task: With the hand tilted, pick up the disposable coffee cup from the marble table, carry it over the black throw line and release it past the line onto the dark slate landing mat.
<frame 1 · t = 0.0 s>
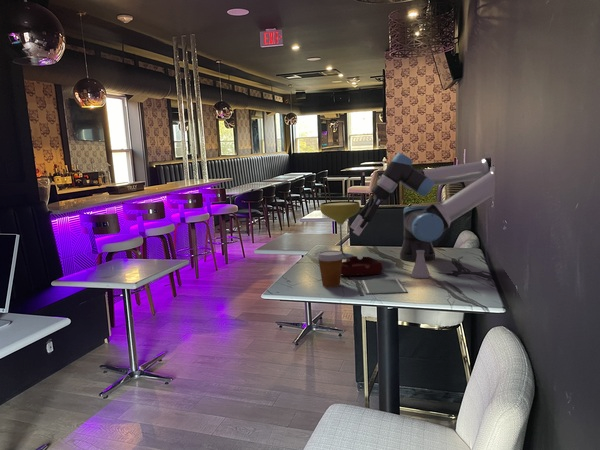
hand: (354, 231, 189), 15 cm above the table, tool tilted 35°, fingers open, 13 cm apart
cocktail glass: (341, 256, 214), on the table
ashtray: (362, 273, 183), on the table
flask: (420, 277, 174), on the table
throw line: (358, 287, 162), on the table
landing mat: (383, 286, 162), on the table
disposable coffee cup: (331, 285, 168), on the table
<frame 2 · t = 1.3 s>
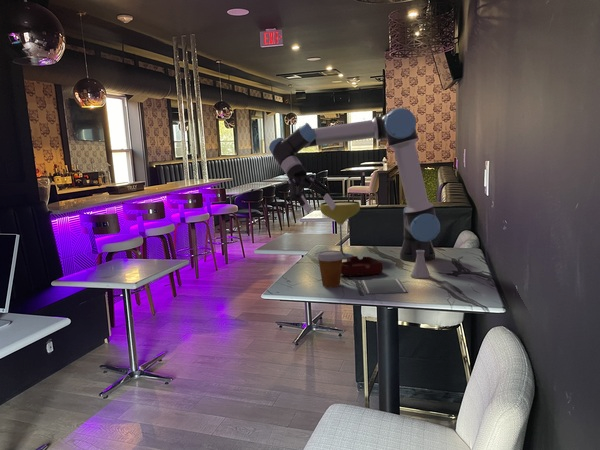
hand: (322, 209, 176), 26 cm above the table, tool tilted 45°, fingers open, 13 cm apart
nothing on the table moved.
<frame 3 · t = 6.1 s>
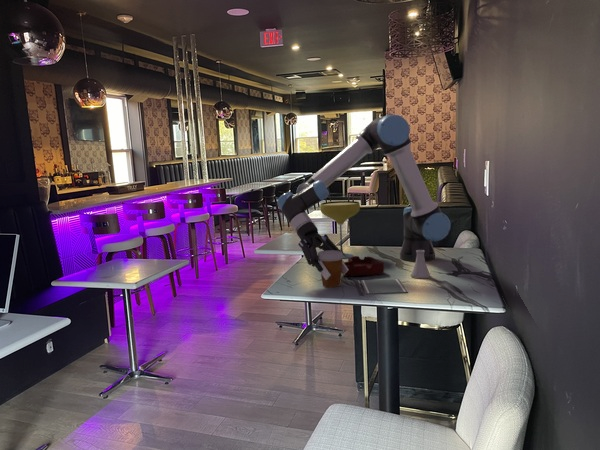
hand: (337, 274, 165), 4 cm above the table, tool tilted 45°, fingers closed on disposable coffee cup, 9 cm apart
disposable coffee cup: (331, 285, 168), on the table, touching gripper
everything else where it was.
when the fingers open (6 cm above the table, at t = 11.6 s): disposable coffee cup moves 3 cm, resting on landing mat.
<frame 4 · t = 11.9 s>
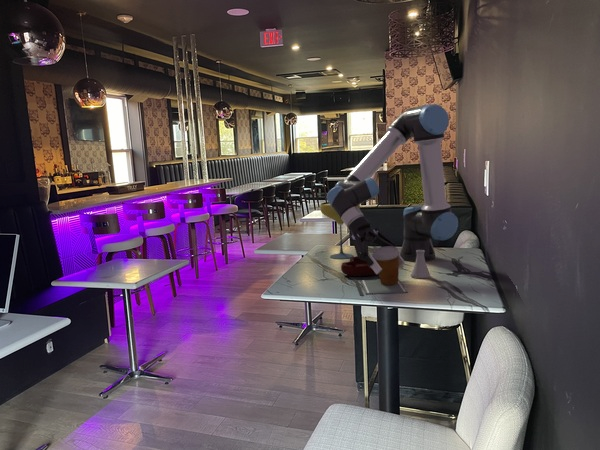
hand: (391, 268, 159), 7 cm above the table, tool tilted 45°, fingers open, 13 cm apart
disposable coffee cup: (389, 282, 165), point 1 cm above the table, touching gripper, landing mat
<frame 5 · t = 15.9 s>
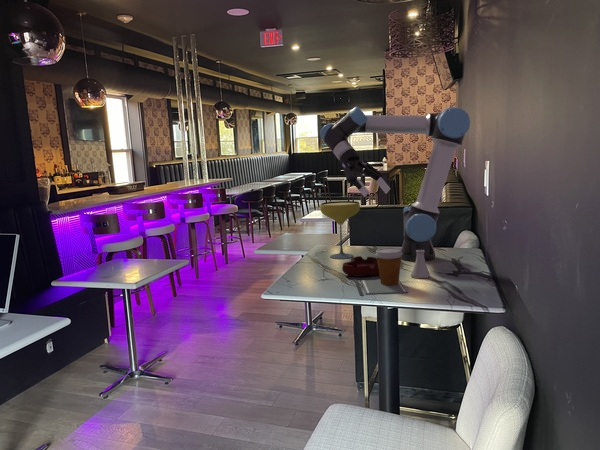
hand: (377, 192, 177), 32 cm above the table, tool tilted 45°, fingers open, 13 cm apart
disposable coffee cup: (389, 283, 165), resting on landing mat
at the end: disposable coffee cup inside the target area (3.6 cm from its centre), resting on landing mat; disposable coffee cup tilted 1°; the gripper is holding nothing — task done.
